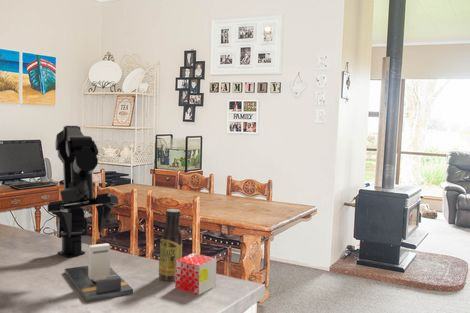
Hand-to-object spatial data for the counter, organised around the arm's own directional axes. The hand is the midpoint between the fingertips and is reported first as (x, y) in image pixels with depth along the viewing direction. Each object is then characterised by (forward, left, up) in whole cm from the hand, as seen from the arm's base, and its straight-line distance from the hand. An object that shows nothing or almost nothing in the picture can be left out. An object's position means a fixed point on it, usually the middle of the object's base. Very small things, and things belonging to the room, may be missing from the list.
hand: (84, 234), depth 131 cm
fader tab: (+6, 0, -11) cm, 13 cm away
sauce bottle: (+16, +17, -13) cm, 27 cm away
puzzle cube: (+26, +17, -13) cm, 34 cm away
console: (+4, +1, -13) cm, 14 cm away
